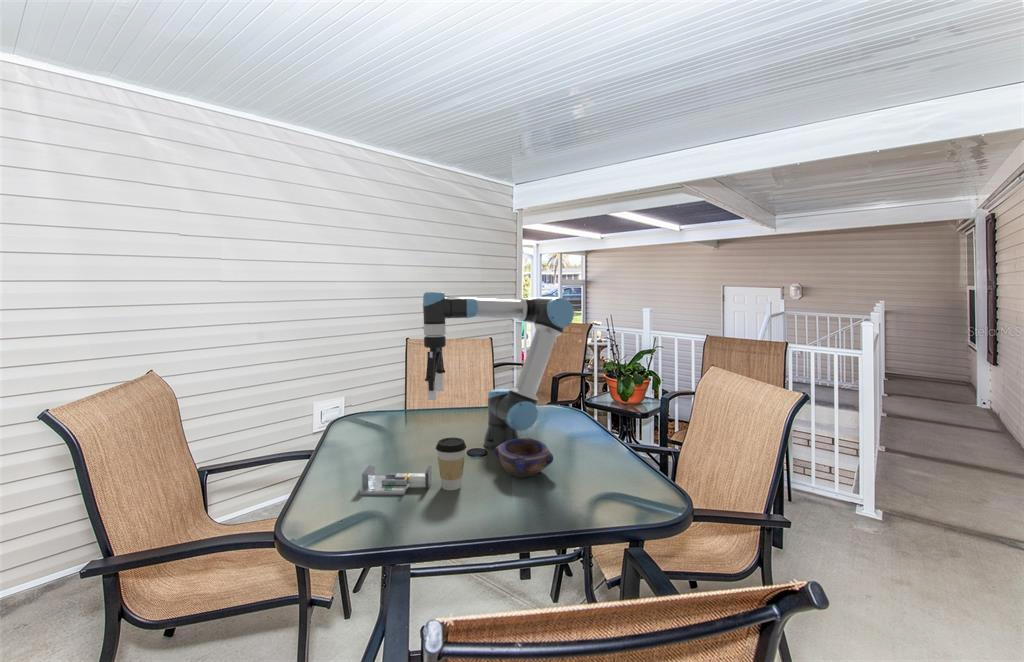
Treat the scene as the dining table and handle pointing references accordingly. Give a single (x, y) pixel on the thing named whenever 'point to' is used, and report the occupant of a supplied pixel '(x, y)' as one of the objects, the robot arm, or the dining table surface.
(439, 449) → the coffee cup
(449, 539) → the dining table surface
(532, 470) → the bowl
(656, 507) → the dining table surface
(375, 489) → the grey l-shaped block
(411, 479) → the plunger
